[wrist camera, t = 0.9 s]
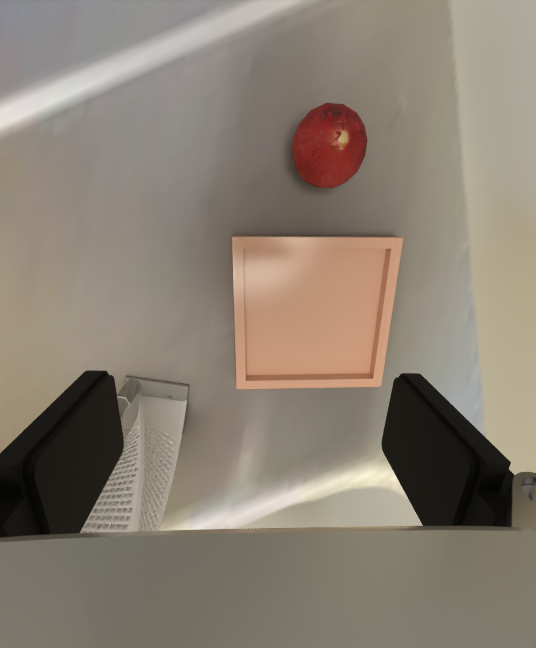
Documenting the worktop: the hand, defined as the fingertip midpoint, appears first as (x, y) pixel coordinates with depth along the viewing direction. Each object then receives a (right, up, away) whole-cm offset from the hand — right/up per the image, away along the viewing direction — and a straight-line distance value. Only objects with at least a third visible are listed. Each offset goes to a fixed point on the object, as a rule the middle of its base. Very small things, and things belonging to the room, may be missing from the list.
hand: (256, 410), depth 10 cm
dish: (+5, +4, +23) cm, 24 cm away
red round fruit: (+5, +18, +18) cm, 26 cm away
